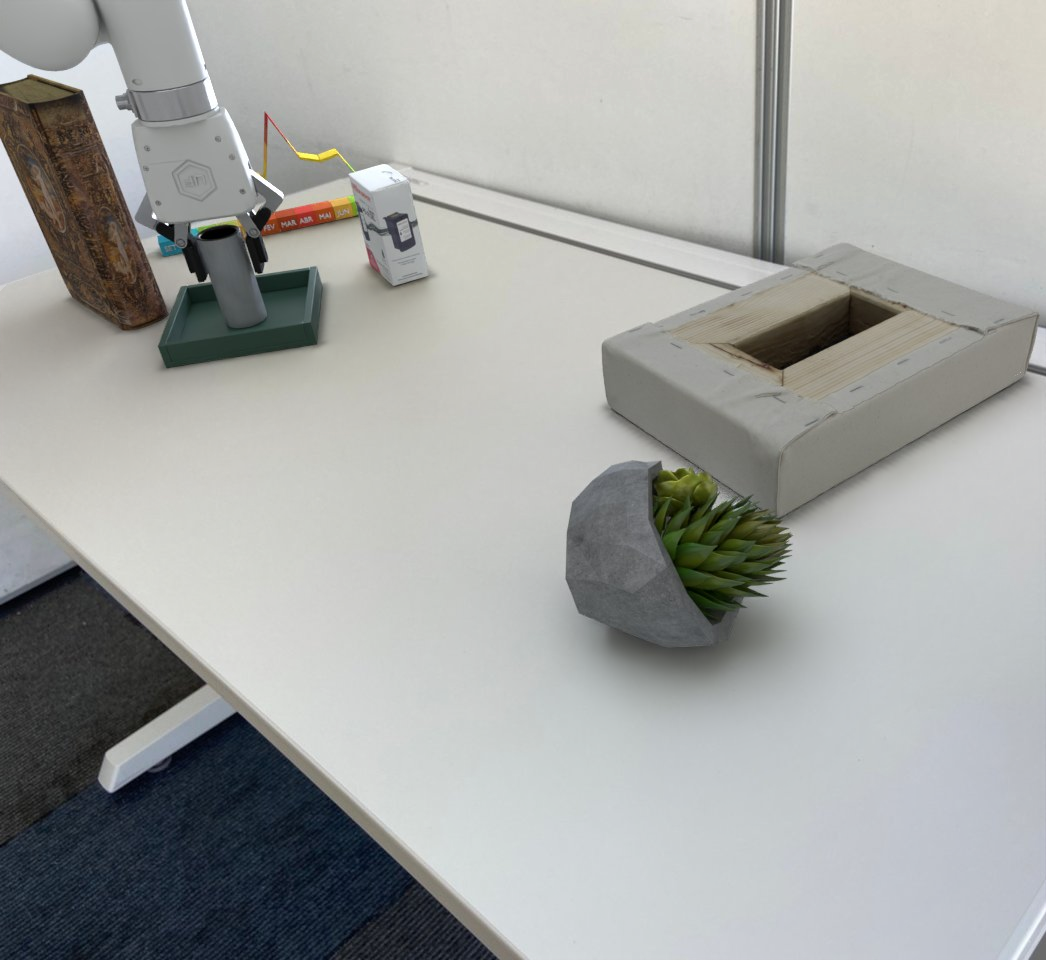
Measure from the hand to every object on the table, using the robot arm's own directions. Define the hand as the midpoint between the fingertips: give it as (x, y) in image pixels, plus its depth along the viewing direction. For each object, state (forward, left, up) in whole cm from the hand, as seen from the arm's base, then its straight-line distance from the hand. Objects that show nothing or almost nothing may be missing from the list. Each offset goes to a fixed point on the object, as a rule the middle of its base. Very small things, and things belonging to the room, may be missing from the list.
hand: (231, 271), depth 107 cm
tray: (0, 0, -6) cm, 6 cm away
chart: (+1, +30, -7) cm, 31 cm away
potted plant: (+35, -59, -7) cm, 69 cm away
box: (+54, -35, -7) cm, 65 cm away
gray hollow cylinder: (0, 0, -6) cm, 6 cm away
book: (-16, +11, -7) cm, 20 cm away
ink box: (+17, +9, -7) cm, 20 cm away
